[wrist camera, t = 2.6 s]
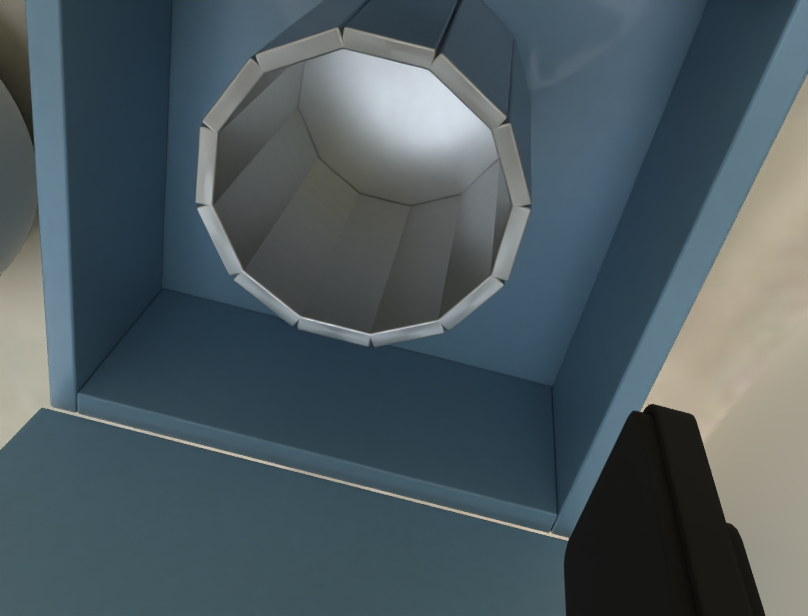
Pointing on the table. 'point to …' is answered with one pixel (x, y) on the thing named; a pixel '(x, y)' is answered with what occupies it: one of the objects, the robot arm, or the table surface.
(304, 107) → the steel cup
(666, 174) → the box
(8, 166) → the teacup
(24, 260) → the table surface
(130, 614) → the lid
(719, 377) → the table surface
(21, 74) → the table surface
